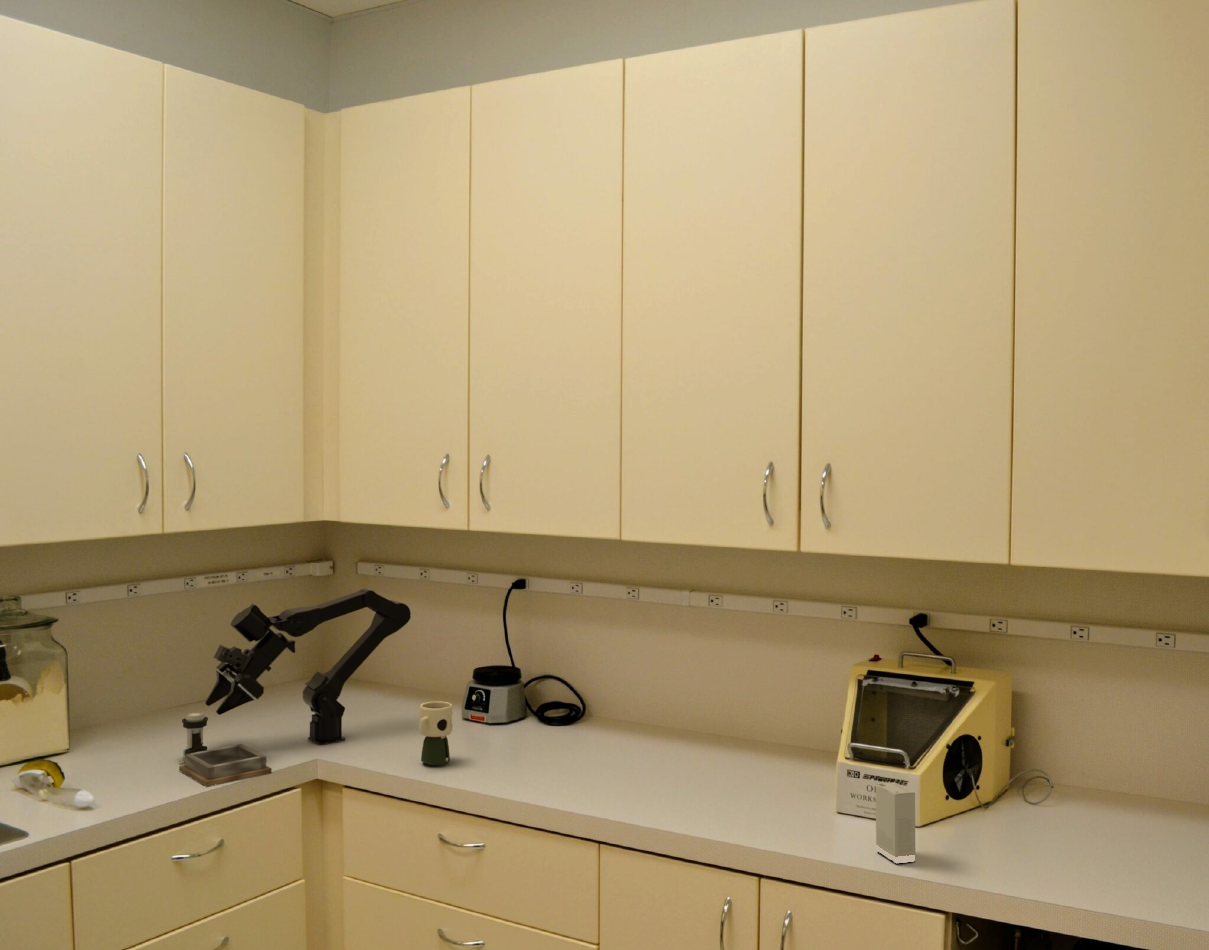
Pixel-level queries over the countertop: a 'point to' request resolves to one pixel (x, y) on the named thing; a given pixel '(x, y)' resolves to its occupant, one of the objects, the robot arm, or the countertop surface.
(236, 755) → the tray
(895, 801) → the skincare box
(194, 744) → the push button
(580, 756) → the countertop surface
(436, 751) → the character mug
